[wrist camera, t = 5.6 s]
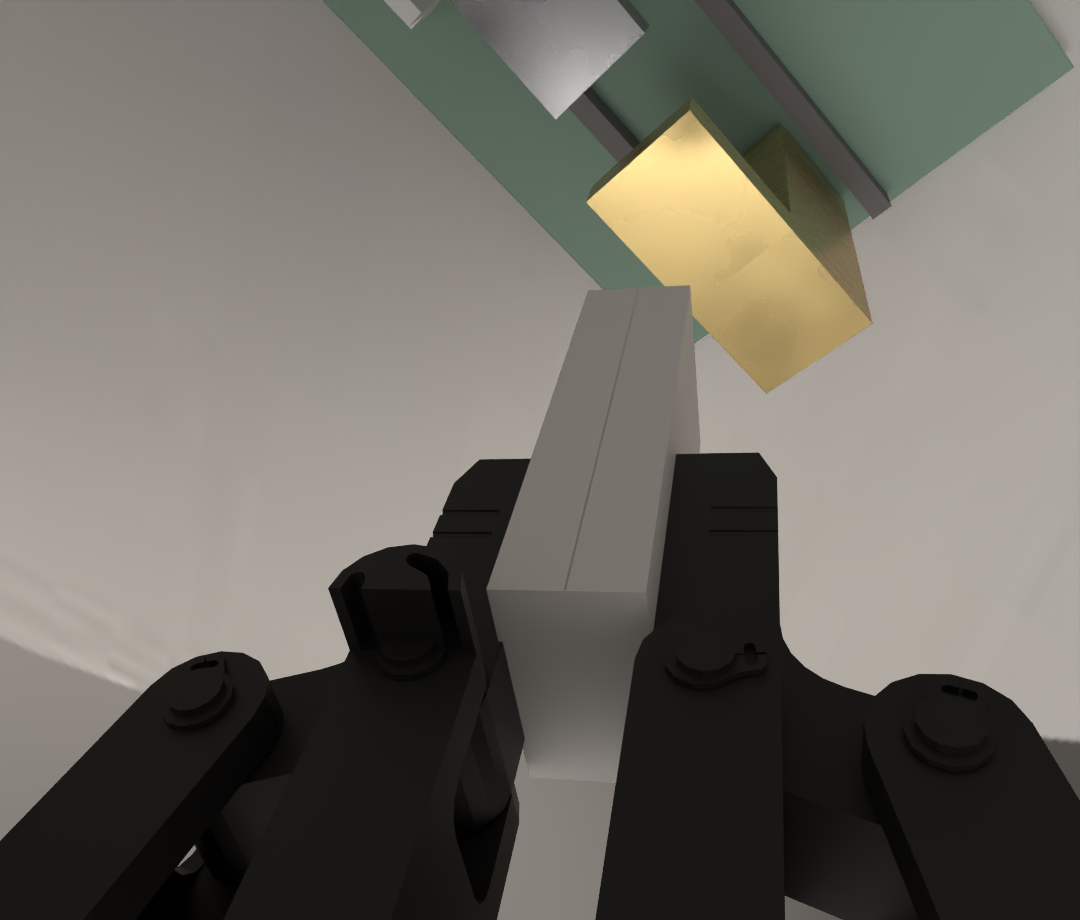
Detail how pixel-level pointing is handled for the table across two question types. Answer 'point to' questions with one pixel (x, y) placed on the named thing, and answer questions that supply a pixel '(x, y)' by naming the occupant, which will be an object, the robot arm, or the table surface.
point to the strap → (556, 41)
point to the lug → (741, 240)
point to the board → (727, 95)
